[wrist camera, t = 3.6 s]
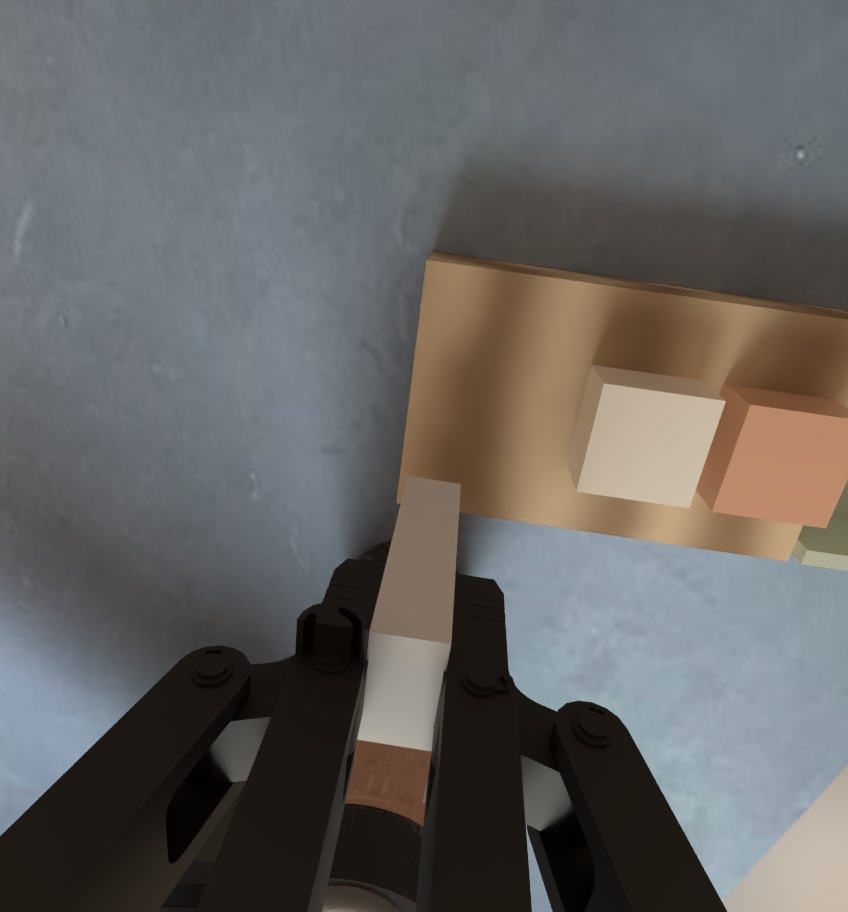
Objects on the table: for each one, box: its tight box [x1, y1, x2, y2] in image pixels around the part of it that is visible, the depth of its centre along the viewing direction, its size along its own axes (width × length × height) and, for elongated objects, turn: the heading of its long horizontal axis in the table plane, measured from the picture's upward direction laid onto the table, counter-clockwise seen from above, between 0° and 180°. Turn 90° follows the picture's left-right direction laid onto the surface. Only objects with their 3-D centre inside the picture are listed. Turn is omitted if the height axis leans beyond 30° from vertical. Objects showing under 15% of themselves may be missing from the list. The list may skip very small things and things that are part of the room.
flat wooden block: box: [396, 252, 848, 561], centre depth 31 cm, size 20×12×4 cm, turn 83°
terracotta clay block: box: [696, 384, 848, 528], centre depth 27 cm, size 5×5×3 cm
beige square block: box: [567, 365, 726, 508], centre depth 28 cm, size 5×5×3 cm
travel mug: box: [322, 541, 458, 912], centre depth 29 cm, size 8×8×20 cm
